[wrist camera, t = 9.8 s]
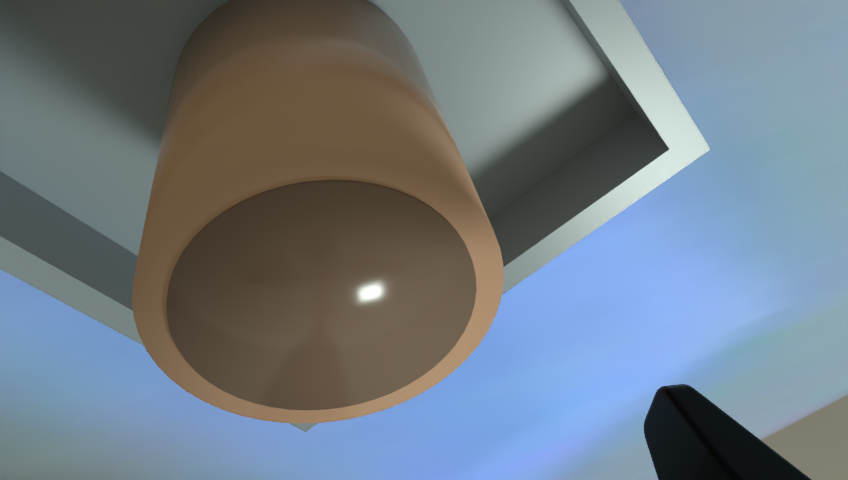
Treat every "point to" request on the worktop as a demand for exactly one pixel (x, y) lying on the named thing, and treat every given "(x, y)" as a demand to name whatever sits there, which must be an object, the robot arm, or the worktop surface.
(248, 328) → the terracotta cup
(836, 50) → the worktop surface
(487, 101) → the tray
